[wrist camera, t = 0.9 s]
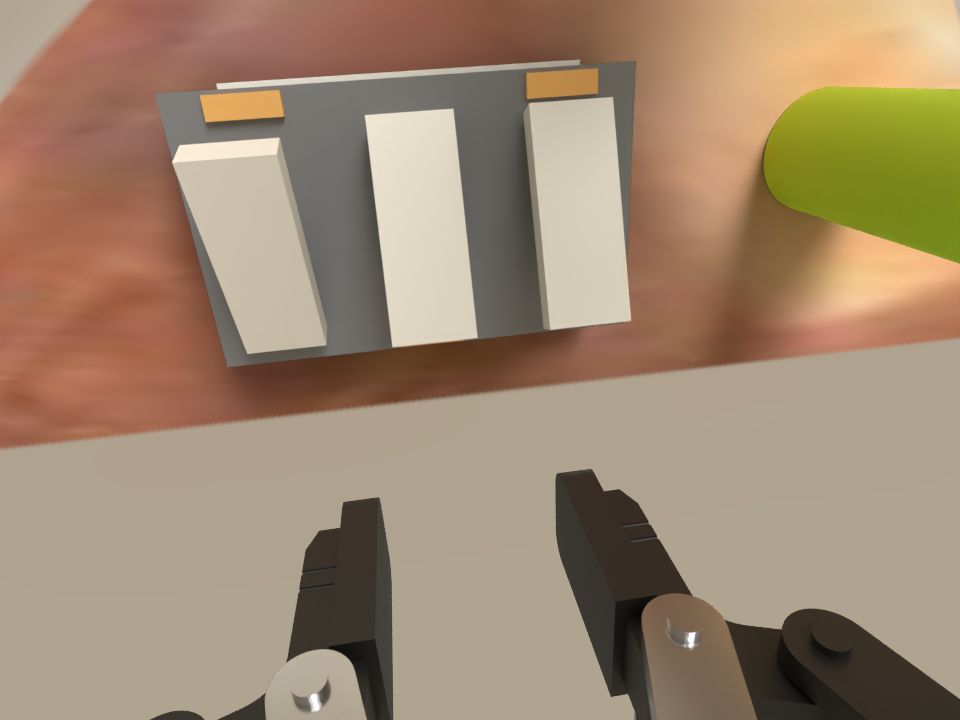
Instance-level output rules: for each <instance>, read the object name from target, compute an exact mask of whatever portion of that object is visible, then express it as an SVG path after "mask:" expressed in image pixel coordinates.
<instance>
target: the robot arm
mask: <svg viewBox="0 0 960 720" xmlns="http://www.w3.org/2000/svg"><path fill="white" fill-rule="evenodd" d="M556 536H557V544H558V549H559V553H560V557H561V560H562V563H563V566H564V569H565V571H566V574H567V577H568V579H569V582H570V585H571V588H572V590H573V593H574V596H575V599H576V602H577V604H578V607H579V610H580V612H581V615H582V618H583V621H584V623H585V626H586V629H587V632H588V635H589V637H590V640H591V643H592V646H593V648H594V651H595V654H596V657H597V660H598V662H599V665H600V668H601V671H602V673H603V676H604V679H605V681H606V684H607V687H608V690H609V693H610V695H611V697H613V696H619V695H624V694H628V695H629V697H630V700H631V702H632V705H633V707H634V710H635V715H634V720H960V699H959V698H957V697H956V696H955V695H953V694H952V693H951V692H949V691H948V690H946V689H945V688H944V687H942V686H941V685H940V684H938V683H937V682H936V681H934V680H933V679H931V678H930V677H929V676H927V675H926V674H925V673H923V672H922V671H920V670H919V669H918V668H916V667H915V666H914V665H912V664H911V663H910V662H908V661H907V660H905V659H904V658H903V657H901V656H900V655H899V654H897V653H896V652H894V651H893V650H892V649H890V648H889V647H887V646H886V645H885V644H883V643H882V642H881V641H879V640H878V639H877V638H875V637H874V636H872V635H871V634H870V633H868V632H867V631H866V630H864V629H863V628H862V627H860V626H859V625H857V624H856V623H854V622H853V621H851V620H849V619H847V618H845V617H844V616H841V615H839V614H836V613H833V612H830V611H827V610H820V609H802V610H799V611H796V612H794V613H792V614H790V615H789V616H788V617H787V618H786V619H785V621H784V624H783V626H782V630H780V629H772V628H763V627H755V626H747V625H741V624H736V623H733V622H729V621H726V620H724V618H723V617H722V615H721V614H720V613H719V612H718V611H717V610H716V609H715V608H714V607H713V606H711V605H709V604H708V603H707V602H705V601H703V600H701V599H699V598H697V597H694V596H693V595H692V594H691V593H690V591H689V589H688V587H687V586H686V584H685V582H684V581H683V579H682V577H681V576H680V574H679V572H678V571H677V569H676V567H675V566H674V564H673V562H672V560H671V559H670V557H669V555H668V554H667V552H666V550H665V549H664V547H663V545H662V544H661V542H660V540H659V539H657V535H656V533H655V531H654V530H653V528H652V527H651V525H649V523H648V520H647V518H646V516H645V515H644V513H643V511H642V509H641V508H640V506H639V504H638V503H637V502H635V501H634V500H633V499H631V498H630V497H629V496H627V495H626V494H625V493H624V492H622V491H621V490H619V489H618V490H611V491H603V489H602V487H601V485H600V483H599V481H598V480H597V478H596V476H595V474H594V472H593V471H592V470H591V469H587V470H579V471H572V472H565V473H558V474H557V475H556ZM302 573H303V575H302V576H301V582H300V588H299V589H300V593H299V594H298V599H297V605H296V611H295V617H294V623H293V630H292V635H291V641H290V647H289V653H288V658H287V662H286V664H284V665H283V667H281V668H280V669H279V670H278V671H277V673H276V674H275V675H274V676H273V678H272V680H271V681H270V683H269V686H268V688H267V691H266V693H265V694H264V695H262V696H261V697H260V698H259V699H257V700H256V701H254V702H253V703H251V704H249V705H248V706H246V707H244V708H242V709H240V710H238V711H235V712H233V713H231V714H229V715H227V716H225V717H223V718H220V719H218V720H393V673H392V672H393V669H392V668H393V667H392V666H393V665H392V583H391V568H390V559H389V552H388V545H387V539H386V533H385V528H384V521H383V515H382V510H381V503H380V499H379V498H371V499H364V500H356V501H348V502H344V503H343V507H342V516H341V527H340V528H336V529H329V530H322V531H319V532H318V533H317V535H316V537H315V538H314V539H313V541H312V542H311V544H310V545H309V546H308V548H307V549H306V552H305V558H304V564H303V570H302ZM151 720H204V719H203V718H202V717H201V716H200V715H198V714H196V713H193V712H189V711H173V712H169V713H165V714H162V715H160V716H157V717H155V718H153V719H151Z"/></svg>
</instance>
